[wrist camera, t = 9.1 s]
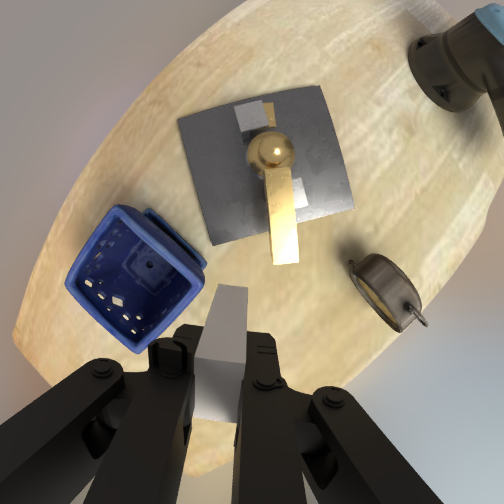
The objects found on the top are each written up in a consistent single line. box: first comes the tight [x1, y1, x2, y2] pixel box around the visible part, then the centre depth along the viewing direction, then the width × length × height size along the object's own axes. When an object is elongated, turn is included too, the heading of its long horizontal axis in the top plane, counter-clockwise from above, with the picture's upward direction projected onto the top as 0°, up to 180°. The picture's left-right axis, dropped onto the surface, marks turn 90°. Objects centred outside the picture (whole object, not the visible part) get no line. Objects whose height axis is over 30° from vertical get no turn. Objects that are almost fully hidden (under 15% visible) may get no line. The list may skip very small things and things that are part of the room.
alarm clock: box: [349, 254, 428, 333], centre depth 31 cm, size 11×5×16 cm, turn 40°
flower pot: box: [65, 204, 207, 354], centre depth 33 cm, size 13×13×12 cm
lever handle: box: [247, 102, 299, 265], centre depth 28 cm, size 17×5×7 cm, turn 6°
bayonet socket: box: [178, 85, 355, 246], centre depth 32 cm, size 20×18×7 cm
